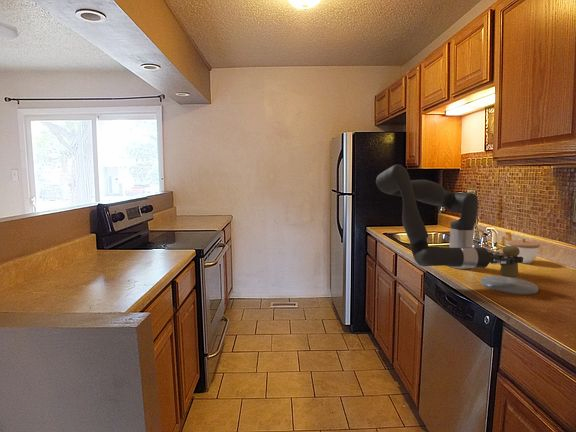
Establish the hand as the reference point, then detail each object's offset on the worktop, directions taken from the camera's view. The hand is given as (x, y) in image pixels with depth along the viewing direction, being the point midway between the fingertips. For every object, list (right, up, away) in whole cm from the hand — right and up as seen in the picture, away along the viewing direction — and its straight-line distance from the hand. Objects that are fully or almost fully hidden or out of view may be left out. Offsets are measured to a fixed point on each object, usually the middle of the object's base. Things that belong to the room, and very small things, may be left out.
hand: (518, 258), depth 127 cm
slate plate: (-3, -11, +2) cm, 11 cm away
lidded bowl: (+27, -6, +37) cm, 46 cm away
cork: (-3, -7, +1) cm, 7 cm away
